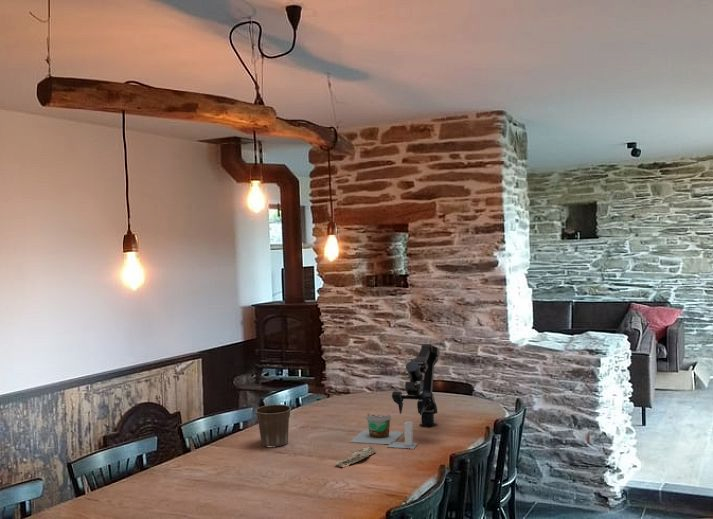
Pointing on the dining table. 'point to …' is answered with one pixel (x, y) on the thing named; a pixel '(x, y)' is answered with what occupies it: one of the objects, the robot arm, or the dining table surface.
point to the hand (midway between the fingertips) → (410, 413)
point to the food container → (378, 425)
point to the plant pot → (273, 424)
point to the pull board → (389, 438)
